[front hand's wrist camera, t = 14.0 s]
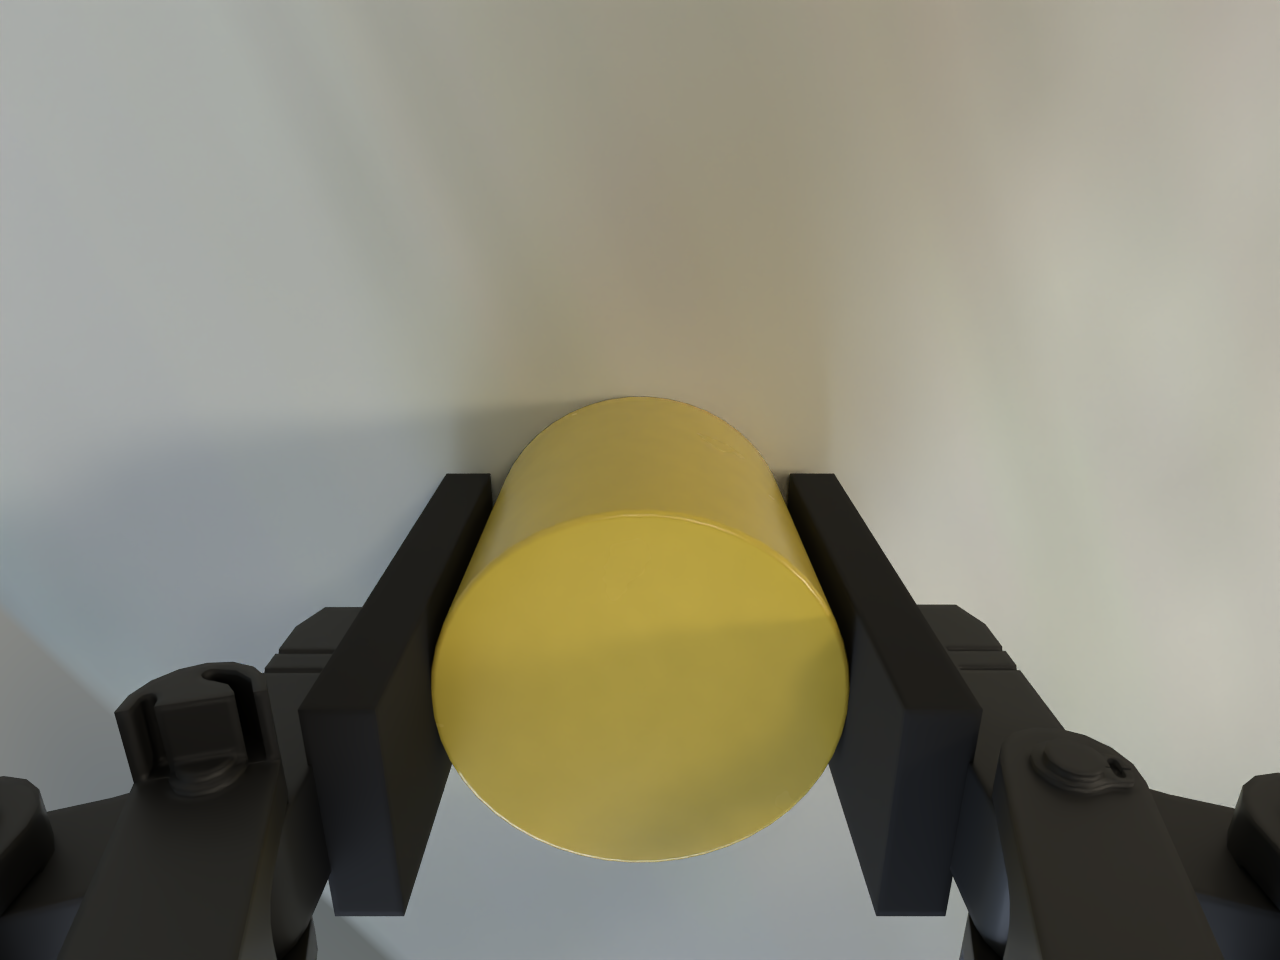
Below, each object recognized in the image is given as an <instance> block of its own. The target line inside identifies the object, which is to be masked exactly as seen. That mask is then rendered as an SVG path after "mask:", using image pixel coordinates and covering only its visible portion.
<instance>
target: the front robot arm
mask: <svg viewBox="0 0 1280 960" xmlns="http://www.w3.org/2000/svg"><path fill="white" fill-rule="evenodd" d="M492 509H493V504H492V490H491V476H490V474H446V476H445V477H444V479H443V480H442V482H441V483H440V485H439V487H438V488H437V490H436V491H435V493H434V494H433V496H432V498H431V499H430V501H429V502H428V504H427V506H426V507H425V509H424V510H423V512H422V513H421V515H420V517H419V518H418V520H417V521H416V523H415V525H414V526H413V528H412V529H411V531H410V532H409V534H408V536H407V537H406V539H405V540H404V542H403V544H402V545H401V547H400V548H399V550H398V551H397V553H396V555H395V556H394V558H393V559H392V561H391V563H390V564H389V566H388V567H387V569H386V570H385V572H384V574H383V575H382V577H381V578H380V580H379V582H378V583H377V585H376V586H375V588H374V589H373V591H372V593H371V594H370V596H369V597H368V599H367V601H366V602H365V604H364V605H363V607H325V608H323V609H322V610H320V611H319V612H317V613H316V614H314V615H313V616H311V617H310V618H308V619H307V620H305V621H304V622H302V623H301V624H299V625H298V626H296V627H295V629H294V630H293V631H292V633H291V634H290V635H289V637H288V638H287V639H286V641H285V642H284V643H283V645H282V646H281V647H280V649H279V654H275V655H274V657H273V658H272V659H271V661H270V662H269V663H268V665H267V666H266V667H265V672H264V673H261V672H259V671H258V670H257V669H256V668H255V667H253V666H249V665H244V664H240V663H236V662H219V663H205V664H200V665H196V666H192V667H187V668H183V669H179V670H176V671H174V672H171V673H169V674H166V675H164V676H162V677H159V678H157V679H154V680H152V681H150V682H149V683H147V684H146V685H144V686H142V687H141V688H139V689H138V690H136V691H135V692H133V693H132V694H130V695H129V696H128V697H127V698H126V699H125V700H124V702H123V703H122V704H121V705H120V706H119V707H118V708H117V710H116V711H115V712H114V714H115V717H116V720H117V724H118V728H119V731H120V735H121V739H122V742H123V746H124V749H125V753H126V756H127V760H128V763H129V767H130V771H131V774H132V778H133V781H134V784H133V787H132V789H131V791H130V793H128V794H124V795H121V796H117V797H113V798H109V799H104V800H100V801H95V802H91V803H86V804H81V805H77V806H72V807H68V808H63V809H58V810H54V811H49V812H46V809H45V806H44V803H43V800H42V797H41V794H40V791H39V789H38V788H37V787H35V786H34V785H33V784H32V783H30V782H29V781H28V780H27V779H20V778H13V777H6V776H2V777H0V960H316V959H317V951H318V948H317V941H316V934H315V928H314V923H313V918H312V915H313V912H314V910H315V908H316V906H317V903H318V901H319V899H320V896H321V894H322V892H323V890H324V887H325V885H326V883H327V881H328V880H329V885H330V891H331V896H332V902H333V907H334V913H335V916H404V915H405V912H406V908H407V905H408V902H409V899H410V896H411V893H412V889H413V886H414V883H415V880H416V877H417V873H418V870H419V867H420V864H421V861H422V858H423V854H424V851H425V848H426V845H427V842H428V839H429V835H430V832H431V829H432V826H433V823H434V820H435V816H436V813H437V810H438V807H439V804H440V800H441V797H442V794H443V791H444V788H445V785H446V781H447V778H448V775H449V772H450V769H451V766H452V763H451V761H450V759H449V757H448V755H447V752H446V750H445V748H444V746H443V744H442V741H441V739H440V736H439V732H438V729H437V725H436V722H435V718H434V712H433V704H432V695H431V667H432V662H433V656H434V651H435V646H436V643H437V640H438V637H439V634H440V632H441V629H442V626H443V623H444V621H445V618H446V616H447V614H448V611H449V609H450V607H451V604H452V602H453V600H454V597H455V595H456V593H457V590H458V588H459V586H460V584H461V581H462V579H463V577H464V574H465V572H466V570H467V567H468V565H469V563H470V560H471V558H472V556H473V553H474V551H475V549H476V546H477V544H478V542H479V539H480V537H481V535H482V532H483V530H484V528H485V525H486V523H487V521H488V518H489V516H490V514H491V511H492ZM788 511H789V513H790V516H791V518H792V520H793V522H794V525H795V527H796V529H797V532H798V534H799V536H800V539H801V541H802V543H803V546H804V548H805V550H806V553H807V555H808V557H809V560H810V562H811V564H812V567H813V569H814V571H815V574H816V576H817V578H818V580H819V583H820V585H821V587H822V590H823V592H824V594H825V597H826V599H827V601H828V604H829V606H830V608H831V611H832V613H833V615H834V618H835V620H836V623H837V625H838V628H839V630H840V633H841V635H842V638H843V640H844V645H845V649H846V654H847V658H848V663H849V676H850V683H849V699H848V709H847V715H846V719H845V724H844V728H843V732H842V735H841V737H840V740H839V742H838V744H837V747H836V749H835V752H834V754H833V756H832V758H831V760H830V761H829V763H828V764H829V767H830V770H831V774H832V777H833V780H834V783H835V786H836V789H837V793H838V796H839V799H840V802H841V805H842V808H843V812H844V815H845V818H846V821H847V824H848V827H849V831H850V834H851V837H852V840H853V843H854V847H855V850H856V853H857V856H858V859H859V862H860V866H861V869H862V872H863V875H864V878H865V881H866V885H867V888H868V891H869V894H870V897H871V900H872V904H873V907H874V910H875V913H876V916H945V915H946V910H947V904H948V899H949V893H950V888H951V882H952V877H953V878H954V880H955V882H956V884H957V887H958V889H959V891H960V893H961V896H962V898H963V900H964V902H965V905H966V907H967V909H968V918H967V923H966V928H965V933H964V938H963V943H962V948H961V953H960V958H959V960H1280V773H1272V774H1265V775H1258V776H1254V777H1253V778H1252V779H1251V780H1249V781H1248V782H1247V783H1246V784H1245V785H1243V787H1242V790H1241V793H1240V796H1239V799H1238V802H1237V805H1236V808H1235V809H1234V808H1230V807H1225V806H1220V805H1216V804H1211V803H1206V802H1202V801H1197V800H1192V799H1188V798H1183V797H1178V796H1174V795H1169V794H1166V793H1162V792H1159V791H1155V790H1151V789H1149V787H1148V785H1147V783H1146V781H1145V780H1144V778H1143V777H1142V776H1141V774H1140V773H1139V772H1138V770H1137V769H1136V767H1135V766H1134V765H1133V764H1132V763H1131V762H1130V761H1128V760H1127V759H1126V758H1124V757H1123V756H1122V755H1120V754H1119V753H1118V752H1116V751H1115V750H1114V749H1112V748H1111V747H1109V746H1107V745H1105V744H1102V743H1100V742H1098V741H1096V740H1094V739H1092V738H1090V737H1088V736H1085V735H1082V734H1078V733H1074V732H1070V731H1066V730H1065V729H1064V728H1063V727H1062V725H1061V724H1060V723H1059V721H1058V720H1057V719H1056V717H1055V716H1054V715H1053V713H1052V712H1051V711H1050V709H1049V708H1048V707H1047V705H1046V704H1045V703H1044V701H1043V700H1042V699H1041V697H1040V696H1039V695H1038V693H1037V692H1036V691H1035V689H1034V688H1033V687H1032V685H1031V684H1030V683H1029V682H1028V680H1027V679H1026V678H1025V676H1024V675H1023V674H1022V672H1021V671H1020V670H1017V669H1016V664H1015V663H1014V662H1013V660H1012V659H1011V658H1010V656H1009V655H1008V654H1007V652H1006V651H1002V646H1001V644H1000V643H999V642H998V640H997V639H996V638H995V636H994V635H993V634H992V633H991V631H990V630H989V629H988V627H987V626H986V625H985V624H984V623H983V622H981V621H980V620H978V619H977V618H975V617H974V616H972V615H971V614H969V613H968V612H966V611H965V610H963V609H961V608H960V607H958V606H957V605H917V604H916V603H915V601H914V600H913V598H912V597H911V595H910V593H909V592H908V590H907V589H906V587H905V585H904V584H903V582H902V581H901V579H900V578H899V576H898V574H897V573H896V571H895V570H894V568H893V566H892V565H891V563H890V562H889V560H888V559H887V557H886V555H885V554H884V552H883V551H882V549H881V547H880V546H879V544H878V543H877V541H876V540H875V538H874V536H873V535H872V533H871V532H870V530H869V529H868V527H867V525H866V524H865V522H864V521H863V519H862V517H861V516H860V514H859V513H858V511H857V510H856V508H855V506H854V505H853V503H852V502H851V500H850V498H849V497H848V495H847V494H846V492H845V491H844V489H843V487H842V486H841V484H840V483H839V481H838V479H837V478H836V476H835V475H834V474H790V483H789V497H788Z"/></svg>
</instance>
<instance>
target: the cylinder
mask: <svg viewBox="0 0 1280 960" xmlns="http://www.w3.org/2000/svg"><path fill="white" fill-rule="evenodd" d="M849 683H850V676H849V663H848V658H847V654H846V649H845V645H844V640H843V638H842V635H841V633H840V630H839V628H838V625H837V623H836V620H835V618H834V615H833V613H832V611H831V608H830V606H829V604H828V601H827V599H826V597H825V594H824V592H823V590H822V587H821V585H820V583H819V580H818V578H817V576H816V574H815V571H814V569H813V567H812V564H811V562H810V560H809V557H808V555H807V553H806V550H805V548H804V546H803V543H802V541H801V539H800V536H799V534H798V532H797V529H796V527H795V525H794V522H793V520H792V518H791V516H790V513H789V511H788V509H787V506H786V504H785V502H784V499H783V497H782V495H781V492H780V490H779V488H778V485H777V483H776V481H775V478H774V476H773V474H772V472H771V471H770V469H769V467H768V466H767V464H766V462H765V460H764V459H763V458H762V456H761V455H760V454H759V452H758V451H757V450H756V449H755V447H754V446H753V445H752V444H751V443H750V442H749V441H748V440H747V439H746V438H745V437H744V436H743V435H742V434H741V433H740V432H739V431H737V430H736V429H735V428H733V427H732V426H730V425H729V424H728V423H726V422H725V421H724V420H722V419H720V418H718V417H716V416H714V415H713V414H711V413H709V412H707V411H705V410H702V409H700V408H697V407H695V406H692V405H689V404H686V403H682V402H678V401H674V400H670V399H664V398H655V397H625V398H617V399H610V400H606V401H602V402H598V403H595V404H591V405H588V406H585V407H583V408H581V409H578V410H576V411H573V412H571V413H569V414H567V415H566V416H564V417H562V418H561V419H559V420H557V421H555V422H554V423H552V424H551V425H550V426H548V427H547V428H546V429H545V430H543V431H542V432H541V433H540V434H538V435H537V436H536V437H535V438H534V439H533V440H532V441H531V442H530V443H529V444H528V446H527V447H526V448H525V449H524V450H523V451H522V453H521V454H520V456H519V457H518V458H517V460H516V461H515V462H514V464H513V466H512V468H511V470H510V471H509V473H508V475H507V477H506V479H505V481H504V484H503V486H502V488H501V491H500V493H499V495H498V498H497V500H496V502H495V504H494V507H493V509H492V511H491V514H490V516H489V518H488V521H487V523H486V525H485V528H484V530H483V532H482V535H481V537H480V539H479V542H478V544H477V546H476V549H475V551H474V553H473V556H472V558H471V560H470V563H469V565H468V567H467V570H466V572H465V574H464V577H463V579H462V581H461V584H460V586H459V588H458V590H457V593H456V595H455V597H454V600H453V602H452V604H451V607H450V609H449V611H448V614H447V616H446V618H445V621H444V623H443V626H442V629H441V632H440V634H439V637H438V640H437V643H436V646H435V651H434V656H433V662H432V667H431V695H432V704H433V712H434V718H435V722H436V725H437V729H438V732H439V736H440V739H441V741H442V744H443V746H444V748H445V750H446V752H447V755H448V757H449V759H450V761H451V763H452V764H453V766H454V767H455V769H456V770H457V772H458V773H459V775H460V777H461V778H462V780H463V781H464V782H465V783H466V784H467V786H468V787H469V788H470V789H471V790H472V792H473V793H474V794H475V795H476V796H477V797H478V798H479V799H480V800H481V801H482V802H483V803H484V804H485V805H486V806H487V807H488V808H490V809H491V810H492V811H493V812H494V813H495V814H496V815H498V816H499V817H501V818H502V819H503V820H505V821H506V822H508V823H509V824H510V825H512V826H513V827H515V828H517V829H518V830H520V831H522V832H524V833H526V834H527V835H529V836H531V837H533V838H535V839H537V840H539V841H541V842H544V843H546V844H549V845H551V846H553V847H556V848H558V849H562V850H565V851H568V852H571V853H575V854H578V855H581V856H587V857H592V858H597V859H602V860H610V861H621V862H661V861H670V860H679V859H684V858H689V857H693V856H698V855H703V854H706V853H709V852H712V851H715V850H719V849H722V848H725V847H728V846H730V845H732V844H734V843H737V842H739V841H741V840H743V839H746V838H748V837H750V836H752V835H753V834H755V833H757V832H758V831H760V830H762V829H764V828H765V827H767V826H769V825H770V824H772V823H773V822H774V821H776V820H777V819H778V818H780V817H781V816H782V815H784V814H785V813H786V812H788V811H789V810H790V809H791V808H792V807H793V806H794V805H795V804H796V803H797V802H798V801H799V800H800V799H801V798H803V797H804V796H805V795H806V794H807V792H808V791H809V790H810V789H811V787H812V786H813V785H814V784H815V782H816V781H817V780H818V779H819V777H820V776H821V775H822V773H823V771H824V770H825V768H826V766H827V765H828V763H829V761H830V760H831V758H832V756H833V754H834V752H835V749H836V747H837V744H838V742H839V740H840V737H841V735H842V732H843V728H844V724H845V719H846V715H847V709H848V699H849Z"/></svg>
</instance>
